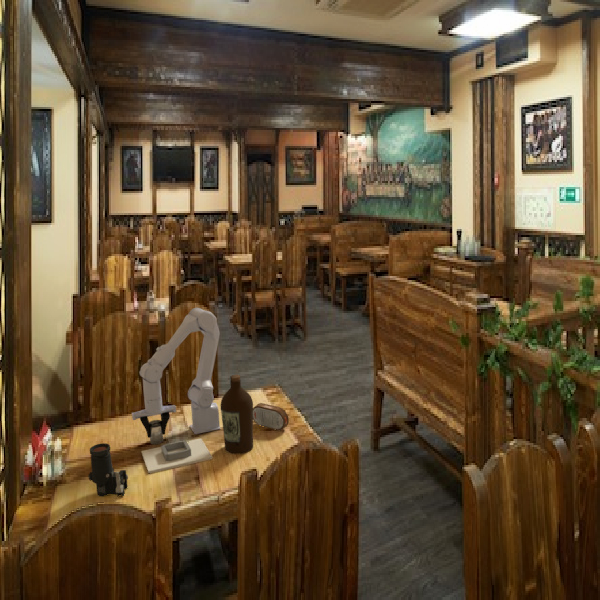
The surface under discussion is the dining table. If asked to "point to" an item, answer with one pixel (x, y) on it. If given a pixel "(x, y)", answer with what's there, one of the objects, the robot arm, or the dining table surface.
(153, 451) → the mount plate
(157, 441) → the lens
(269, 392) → the dining table surface
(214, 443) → the dining table surface
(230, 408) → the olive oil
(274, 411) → the tin
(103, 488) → the black camera
